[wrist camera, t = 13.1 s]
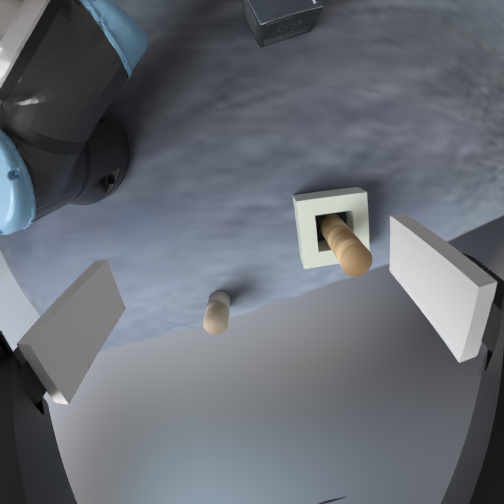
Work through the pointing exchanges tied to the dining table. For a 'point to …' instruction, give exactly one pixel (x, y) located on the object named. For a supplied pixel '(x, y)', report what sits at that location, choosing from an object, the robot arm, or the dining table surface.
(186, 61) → the dining table surface
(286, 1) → the box
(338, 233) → the long pin
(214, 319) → the short pin
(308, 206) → the hole block
